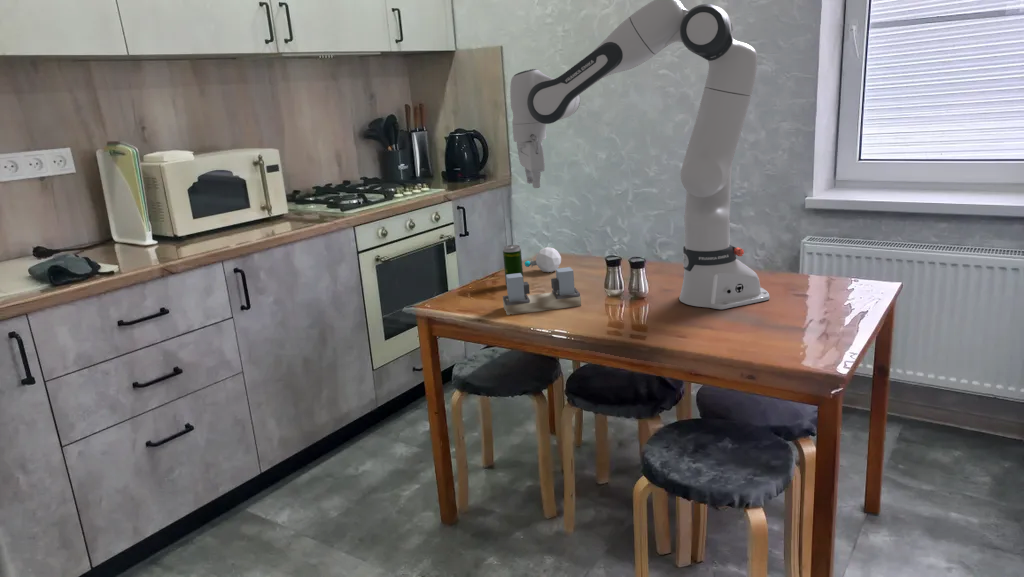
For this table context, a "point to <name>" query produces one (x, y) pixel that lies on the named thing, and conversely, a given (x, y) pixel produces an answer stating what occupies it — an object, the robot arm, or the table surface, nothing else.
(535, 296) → the rail
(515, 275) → the block
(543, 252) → the perfume bottle
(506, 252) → the beer can
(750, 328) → the table surface
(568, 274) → the block
